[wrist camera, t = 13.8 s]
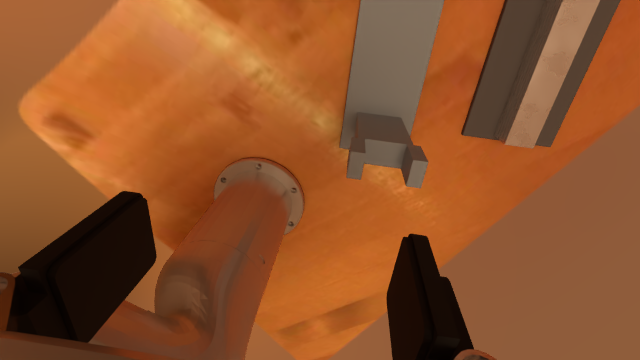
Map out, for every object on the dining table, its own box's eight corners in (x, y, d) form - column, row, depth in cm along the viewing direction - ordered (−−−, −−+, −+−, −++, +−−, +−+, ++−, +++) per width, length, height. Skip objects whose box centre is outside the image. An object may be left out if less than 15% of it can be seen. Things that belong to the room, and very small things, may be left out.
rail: (520, 138, 36) (533, 148, 33) (493, 135, 36) (504, 144, 34) (640, -145, 25) (674, -164, 22) (602, -148, 25) (630, -168, 23)
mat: (547, 145, 37) (550, 147, 36) (461, 133, 37) (462, 135, 37) (684, -146, 25) (691, -149, 25) (557, -158, 26) (561, -161, 25)
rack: (403, 153, 39) (424, 212, 27) (339, 145, 39) (332, 199, 27) (469, -109, 28) (555, -208, 16) (377, -118, 28) (393, -222, 16)
